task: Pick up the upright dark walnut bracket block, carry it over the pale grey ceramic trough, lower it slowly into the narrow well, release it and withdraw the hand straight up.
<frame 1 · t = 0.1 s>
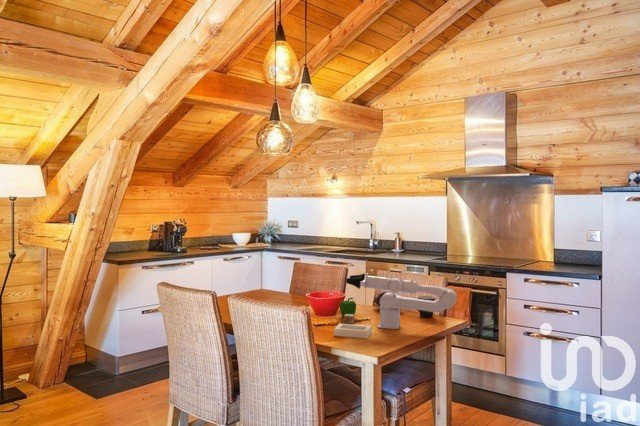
hand: (348, 279, 253), 22 cm above the table, tool horizontal, fingers open, 7 cm apart
bell pepper: (347, 317, 267), on the table
bracket block: (349, 327, 246), on the table
pine cone: (387, 310, 284), on the table
coffee mug: (423, 316, 269), on the table
well trough: (353, 333, 236), on the table
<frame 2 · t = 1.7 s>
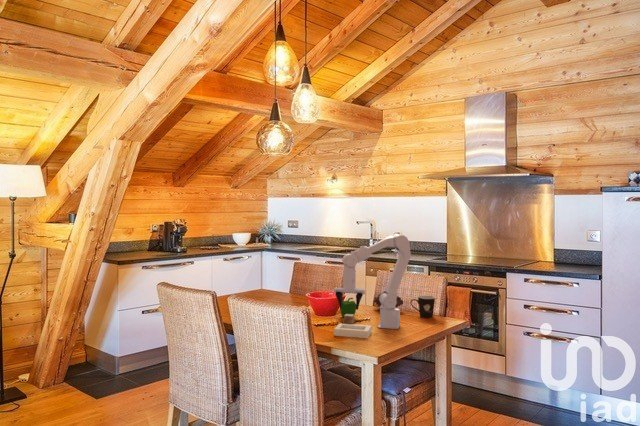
hand: (349, 308, 246), 9 cm above the table, tool pointing down, fingers open, 7 cm apart
nothing on the table moved.
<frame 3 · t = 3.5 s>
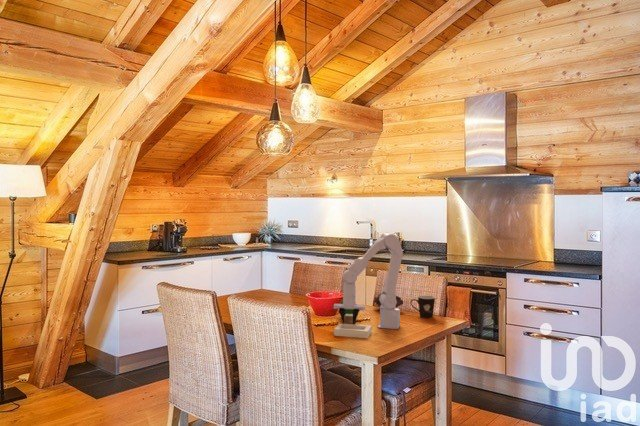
hand: (349, 324, 246), 1 cm above the table, tool pointing down, fingers closed on bracket block, 4 cm apart
bracket block: (349, 327, 246), on the table, touching gripper
everything else where it was.
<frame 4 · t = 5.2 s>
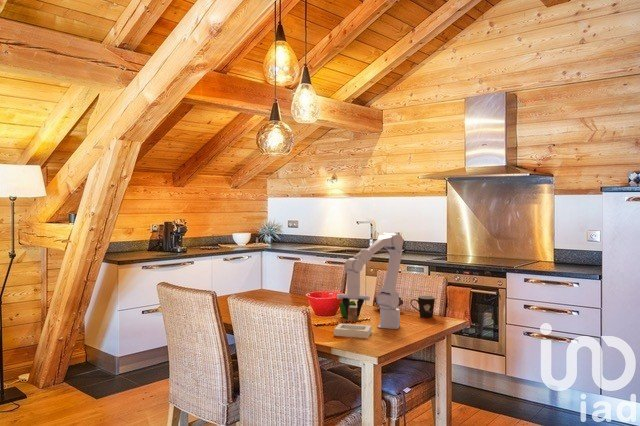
hand: (353, 315, 235), 8 cm above the table, tool pointing down, fingers closed on bracket block, 4 cm apart
bracket block: (353, 319, 236), point 6 cm above the table, touching gripper
everything else where it was.
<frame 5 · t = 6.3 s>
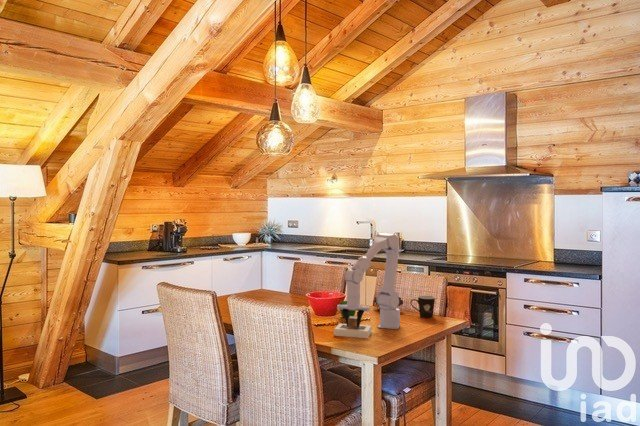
hand: (353, 326, 236), 3 cm above the table, tool pointing down, fingers closed on bracket block, 4 cm apart
bracket block: (353, 330, 236), point 1 cm above the table, touching gripper
everything else where it was.
when the fingers open (3 cm above the table, at t = 7.1 s): bracket block stays where it is, resting on well trough.
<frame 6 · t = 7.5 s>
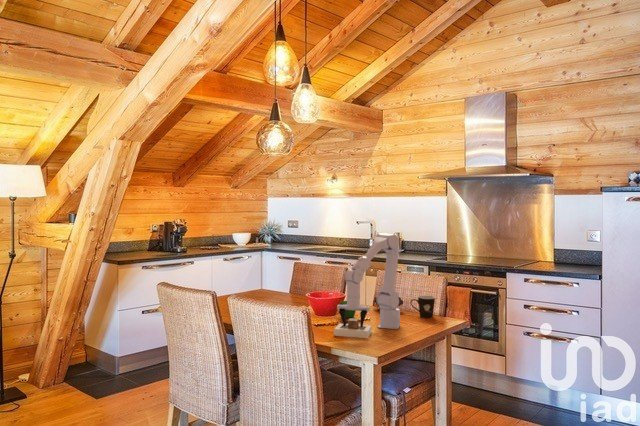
hand: (353, 326, 236), 3 cm above the table, tool pointing down, fingers open, 7 cm apart
bracket block: (353, 332, 236), resting on well trough
everything else where it was.
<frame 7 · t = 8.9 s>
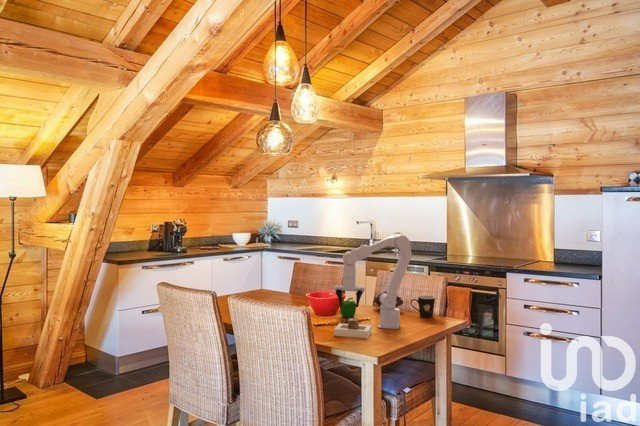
hand: (349, 306, 247), 10 cm above the table, tool pointing down, fingers open, 7 cm apart
nothing on the table moved.
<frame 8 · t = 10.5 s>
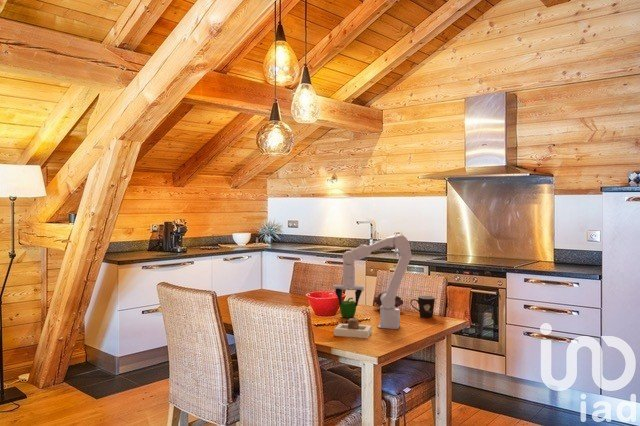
hand: (348, 305, 249), 10 cm above the table, tool pointing down, fingers open, 7 cm apart
nothing on the table moved.
at the end: bracket block inside the target area on the well trough (0.2 cm from its centre), point 0.4 cm above the well trough's base; bracket block tilted 0°; the gripper is holding nothing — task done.
